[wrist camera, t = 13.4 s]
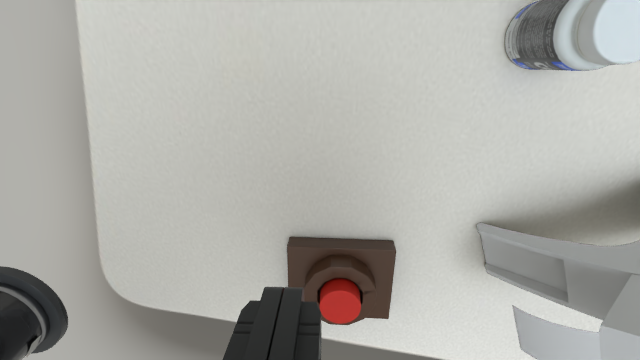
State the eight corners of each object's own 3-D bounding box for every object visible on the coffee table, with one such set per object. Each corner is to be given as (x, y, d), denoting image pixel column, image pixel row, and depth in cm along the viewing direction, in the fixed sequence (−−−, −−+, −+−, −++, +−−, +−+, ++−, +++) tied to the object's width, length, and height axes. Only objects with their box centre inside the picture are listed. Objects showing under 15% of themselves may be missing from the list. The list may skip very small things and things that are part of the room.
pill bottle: (505, 77, 25) (585, 83, 17) (500, 12, 23) (584, -15, 15) (570, 59, 24) (684, 57, 16) (569, -9, 23) (693, -47, 15)
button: (320, 308, 30) (319, 323, 28) (320, 276, 28) (319, 290, 27) (358, 310, 30) (359, 324, 28) (360, 278, 28) (362, 291, 27)
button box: (291, 302, 34) (286, 328, 30) (289, 236, 31) (284, 257, 27) (386, 306, 33) (391, 333, 30) (393, 240, 30) (400, 261, 27)
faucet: (795, 244, 23) (770, 491, 14) (543, 209, 37) (444, 322, 27) (808, 167, 21) (789, 394, 12) (536, 160, 35) (427, 264, 25)
